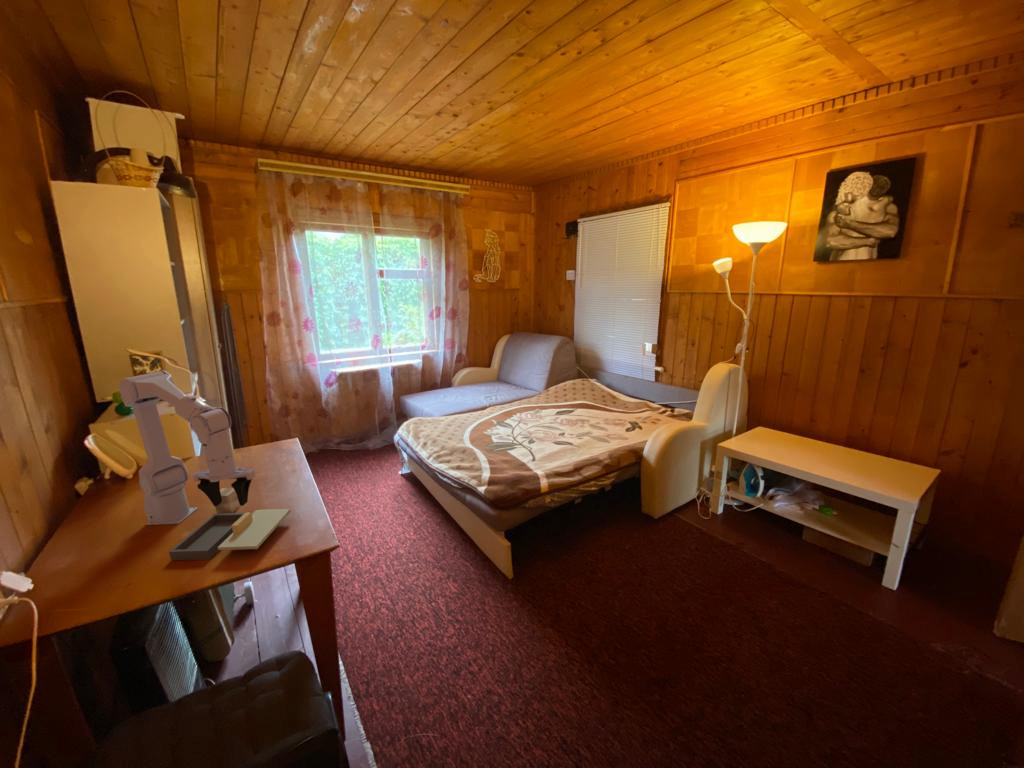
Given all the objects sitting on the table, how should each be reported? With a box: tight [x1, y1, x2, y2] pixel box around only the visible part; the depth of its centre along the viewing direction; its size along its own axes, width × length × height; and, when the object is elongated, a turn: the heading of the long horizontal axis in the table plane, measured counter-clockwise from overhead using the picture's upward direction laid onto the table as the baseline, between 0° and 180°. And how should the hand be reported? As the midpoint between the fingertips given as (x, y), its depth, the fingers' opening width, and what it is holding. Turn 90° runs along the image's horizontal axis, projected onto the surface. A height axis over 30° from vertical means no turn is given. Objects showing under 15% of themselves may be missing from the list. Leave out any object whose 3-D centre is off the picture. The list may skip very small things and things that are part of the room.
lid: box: [218, 508, 291, 551], centre depth 111 cm, size 10×17×3 cm, turn 0°
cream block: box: [214, 487, 241, 514], centre depth 126 cm, size 4×4×6 cm
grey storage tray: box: [168, 512, 245, 561], centre depth 112 cm, size 10×17×2 cm, turn 0°
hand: (231, 503), depth 110 cm, fingers open, 6 cm apart
